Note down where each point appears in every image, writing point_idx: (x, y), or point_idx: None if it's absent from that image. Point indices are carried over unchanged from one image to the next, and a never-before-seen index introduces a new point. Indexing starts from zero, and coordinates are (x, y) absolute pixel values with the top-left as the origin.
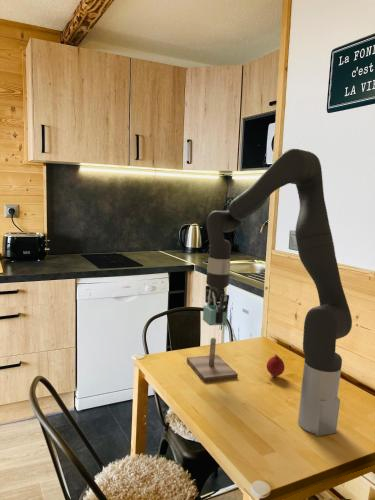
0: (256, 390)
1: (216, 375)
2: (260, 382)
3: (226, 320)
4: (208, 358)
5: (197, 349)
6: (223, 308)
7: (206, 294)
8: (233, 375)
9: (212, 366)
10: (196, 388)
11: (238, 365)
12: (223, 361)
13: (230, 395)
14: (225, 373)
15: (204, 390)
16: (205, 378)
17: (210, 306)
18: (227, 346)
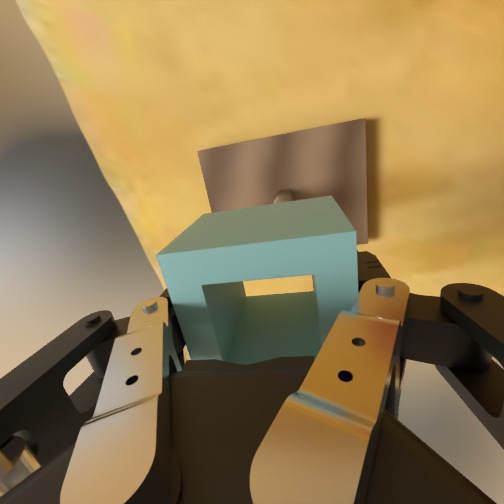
0: (472, 70)
1: (361, 201)
2: (416, 26)
3: (335, 203)
4: (230, 193)
5: (134, 200)
6: (473, 341)
7: (68, 441)
8: (364, 136)
9: (293, 196)
10: (395, 266)
11: (259, 79)
12: (255, 144)
13: (470, 182)
14: (353, 166)
15: (413, 249)
16: (367, 238)
17: (222, 352)
18: (87, 74)
